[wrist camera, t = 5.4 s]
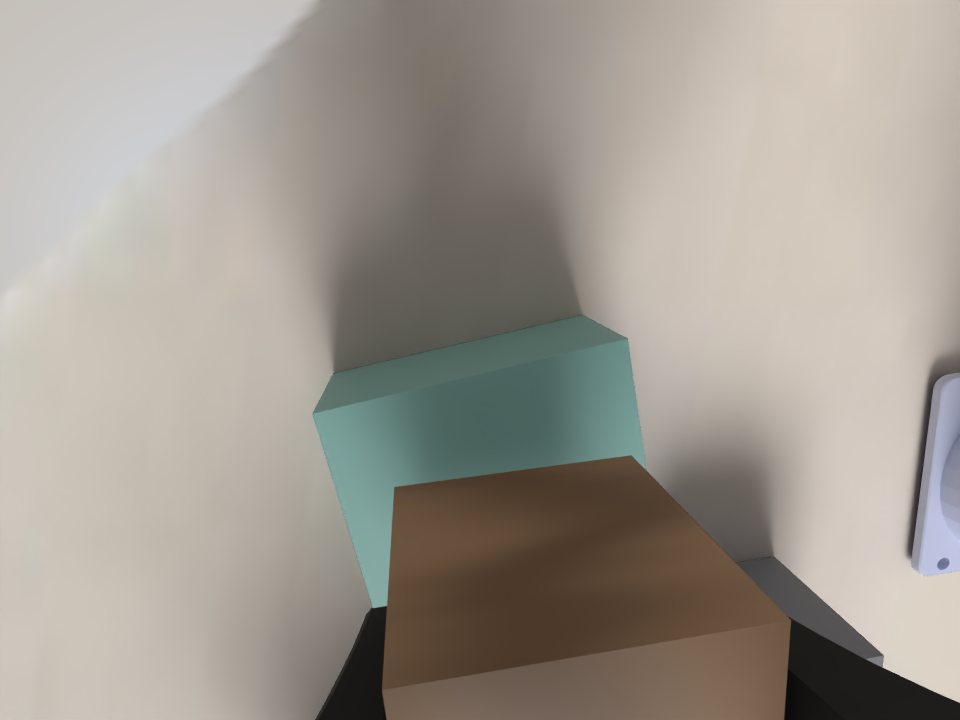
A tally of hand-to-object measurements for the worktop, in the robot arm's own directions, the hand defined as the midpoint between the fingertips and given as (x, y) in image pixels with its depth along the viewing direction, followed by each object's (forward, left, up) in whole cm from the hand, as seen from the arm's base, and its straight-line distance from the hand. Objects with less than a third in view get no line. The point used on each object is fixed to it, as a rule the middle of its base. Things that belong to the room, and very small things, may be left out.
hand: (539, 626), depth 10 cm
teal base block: (0, 0, -8) cm, 8 cm away
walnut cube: (0, 0, -2) cm, 2 cm away
